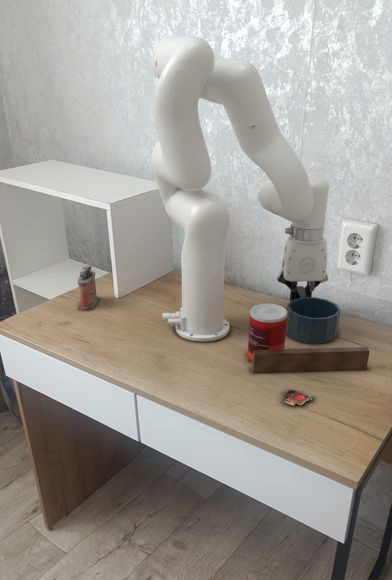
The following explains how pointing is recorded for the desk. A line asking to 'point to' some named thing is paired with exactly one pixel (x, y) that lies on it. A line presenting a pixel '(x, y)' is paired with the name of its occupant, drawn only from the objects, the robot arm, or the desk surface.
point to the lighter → (87, 288)
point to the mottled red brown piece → (296, 397)
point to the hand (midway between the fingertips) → (299, 303)
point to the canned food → (266, 328)
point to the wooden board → (310, 359)
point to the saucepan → (312, 319)
